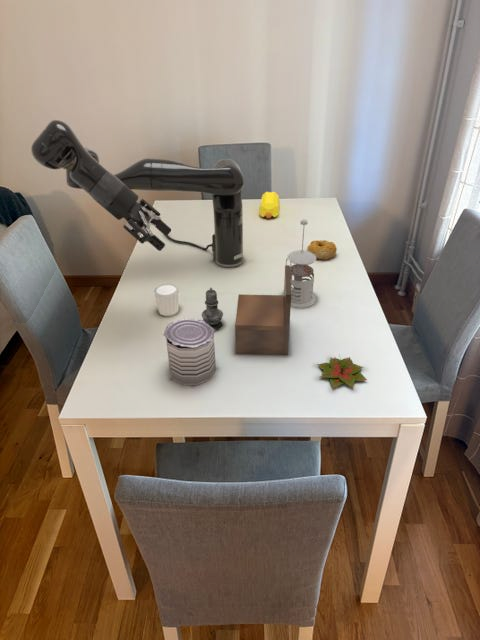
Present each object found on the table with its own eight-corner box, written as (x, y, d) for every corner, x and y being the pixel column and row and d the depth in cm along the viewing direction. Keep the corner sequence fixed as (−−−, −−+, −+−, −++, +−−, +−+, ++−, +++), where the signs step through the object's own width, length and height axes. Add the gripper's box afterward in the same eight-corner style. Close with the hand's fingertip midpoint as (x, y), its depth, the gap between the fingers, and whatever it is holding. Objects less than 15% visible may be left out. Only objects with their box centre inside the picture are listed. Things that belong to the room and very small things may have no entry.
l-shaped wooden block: (235, 353, 123) (234, 293, 113) (239, 321, 135) (238, 264, 124) (288, 355, 122) (291, 294, 112) (286, 322, 134) (289, 265, 124)
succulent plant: (376, 385, 113) (379, 370, 110) (329, 396, 110) (331, 381, 108) (352, 354, 122) (354, 339, 120) (308, 363, 120) (309, 348, 117)
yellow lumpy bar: (258, 220, 191) (278, 220, 191) (258, 204, 187) (278, 204, 187) (261, 203, 206) (279, 203, 205) (261, 187, 202) (280, 188, 201)
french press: (294, 311, 139) (298, 230, 124) (273, 292, 147) (275, 214, 133) (322, 302, 142) (330, 222, 128) (300, 284, 151) (305, 207, 136)
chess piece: (220, 332, 131) (219, 294, 124) (199, 329, 132) (196, 292, 125) (225, 319, 135) (224, 282, 129) (205, 317, 136) (202, 280, 130)
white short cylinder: (184, 306, 141) (182, 285, 137) (174, 319, 136) (172, 297, 132) (163, 302, 143) (160, 281, 139) (152, 314, 138) (149, 293, 134)
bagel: (334, 247, 171) (336, 234, 168) (337, 262, 162) (338, 249, 159) (306, 246, 172) (307, 234, 169) (307, 261, 163) (308, 248, 160)
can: (172, 355, 123) (168, 316, 116) (217, 355, 123) (215, 316, 116) (165, 385, 114) (160, 345, 107) (214, 386, 113) (211, 345, 106)
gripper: (112, 195, 123) (162, 237, 128) (95, 217, 111) (150, 263, 117) (130, 174, 119) (180, 219, 125) (114, 195, 108) (170, 243, 113)
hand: (166, 240), depth 121 cm, fingers open, 8 cm apart
